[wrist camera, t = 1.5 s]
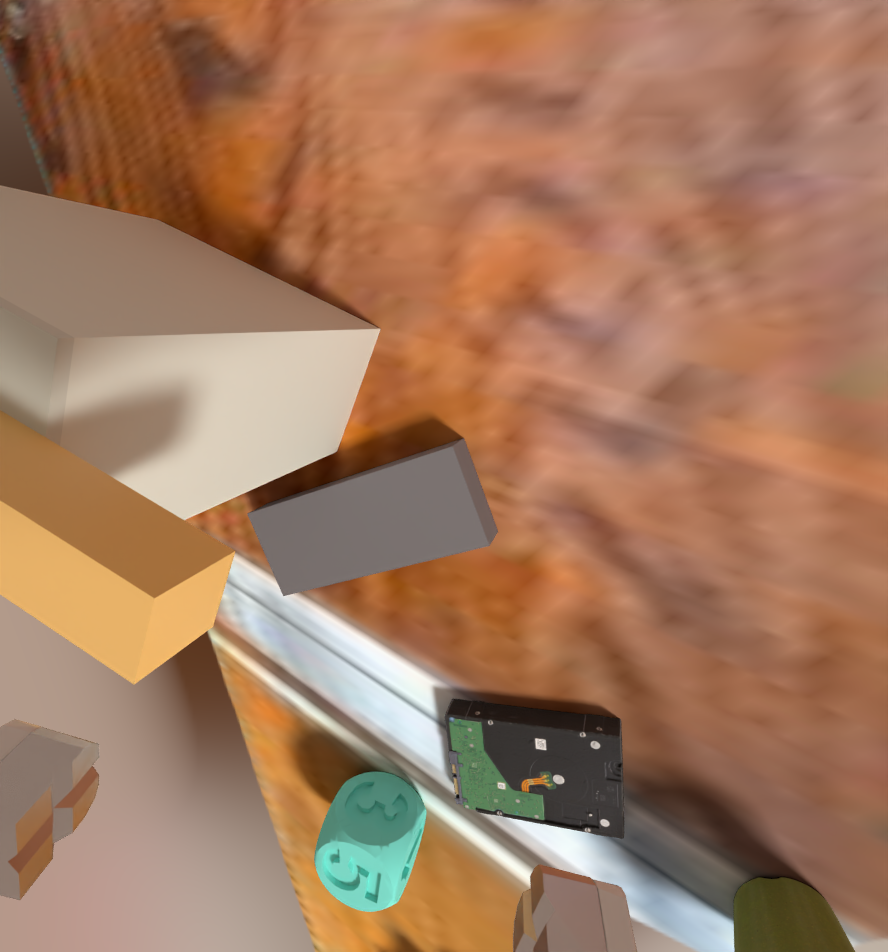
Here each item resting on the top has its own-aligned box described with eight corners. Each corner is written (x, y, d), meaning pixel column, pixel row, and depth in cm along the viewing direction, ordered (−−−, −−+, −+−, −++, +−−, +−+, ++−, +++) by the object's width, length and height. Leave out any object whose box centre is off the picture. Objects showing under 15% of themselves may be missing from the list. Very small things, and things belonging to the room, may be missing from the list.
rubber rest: (268, 503, 50) (247, 513, 47) (463, 438, 42) (452, 446, 39) (301, 581, 51) (283, 596, 48) (498, 531, 43) (489, 545, 41)
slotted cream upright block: (135, 342, 50) (-353, 362, 25) (157, 219, 45) (-400, 98, 21) (337, 451, 46) (1, 602, 21) (380, 328, 42) (27, 339, 17)
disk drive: (621, 711, 45) (451, 694, 50) (621, 734, 42) (441, 715, 47) (625, 812, 47) (463, 788, 52) (626, 841, 45) (455, 812, 49)
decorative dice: (421, 847, 55) (389, 927, 48) (350, 817, 57) (310, 889, 50) (431, 788, 53) (399, 863, 45) (357, 758, 55) (316, 826, 47)
